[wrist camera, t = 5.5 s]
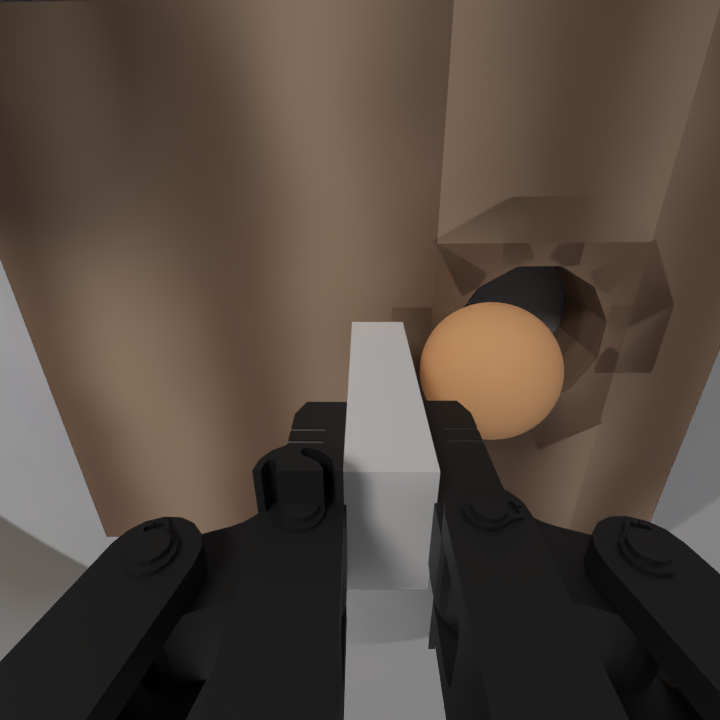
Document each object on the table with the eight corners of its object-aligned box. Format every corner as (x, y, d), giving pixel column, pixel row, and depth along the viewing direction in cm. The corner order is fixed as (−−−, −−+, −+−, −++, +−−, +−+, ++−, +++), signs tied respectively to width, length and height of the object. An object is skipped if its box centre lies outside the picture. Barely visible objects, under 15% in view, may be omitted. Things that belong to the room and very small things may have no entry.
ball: (542, 286, 13) (415, 290, 13) (603, 323, 10) (427, 328, 10) (529, 398, 15) (415, 400, 15) (577, 468, 11) (424, 469, 11)
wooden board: (140, 487, 21) (106, 536, 18) (-1, 36, 13) (-98, 2, 10) (607, 485, 20) (644, 534, 18) (755, 26, 13) (864, -10, 10)
